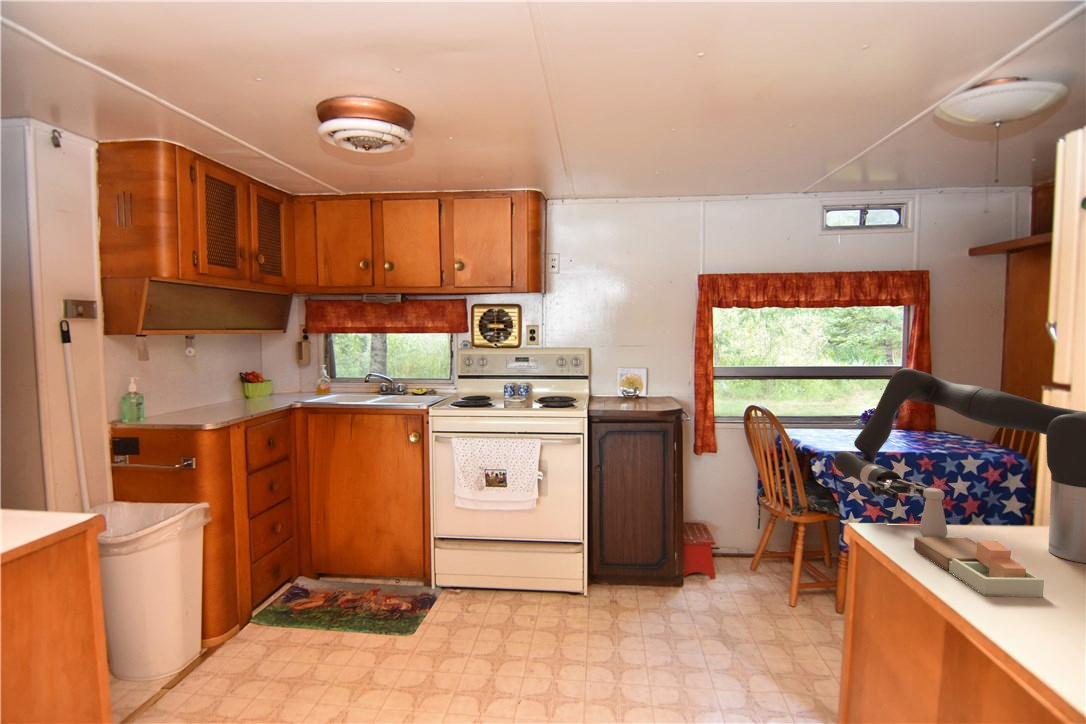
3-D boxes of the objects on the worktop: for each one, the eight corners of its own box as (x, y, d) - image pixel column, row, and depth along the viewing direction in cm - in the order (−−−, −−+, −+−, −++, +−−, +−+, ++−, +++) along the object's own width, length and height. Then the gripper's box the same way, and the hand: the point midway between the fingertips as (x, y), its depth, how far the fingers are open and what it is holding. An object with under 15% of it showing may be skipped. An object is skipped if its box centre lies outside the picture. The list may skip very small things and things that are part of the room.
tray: (1002, 573, 118) (1002, 557, 118) (1043, 597, 107) (1043, 579, 107) (949, 572, 119) (949, 556, 118) (984, 596, 108) (985, 579, 108)
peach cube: (1011, 558, 114) (1026, 568, 110) (1009, 576, 114) (1023, 586, 110) (990, 558, 114) (1004, 568, 110) (988, 575, 115) (1002, 586, 111)
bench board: (966, 549, 130) (966, 537, 130) (1005, 572, 118) (1005, 558, 118) (914, 549, 131) (914, 537, 131) (947, 571, 119) (947, 558, 119)
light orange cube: (995, 558, 118) (997, 541, 117) (1009, 568, 114) (1011, 550, 114) (975, 558, 118) (977, 541, 118) (988, 568, 115) (990, 550, 114)
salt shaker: (937, 535, 139) (939, 485, 138) (952, 544, 133) (954, 492, 133) (913, 535, 140) (914, 485, 139) (927, 544, 134) (928, 492, 133)
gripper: (855, 466, 160) (886, 482, 144) (905, 466, 159) (942, 483, 143) (854, 491, 161) (885, 510, 144) (905, 491, 160) (941, 510, 143)
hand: (913, 496), depth 144 cm, fingers open, 8 cm apart
